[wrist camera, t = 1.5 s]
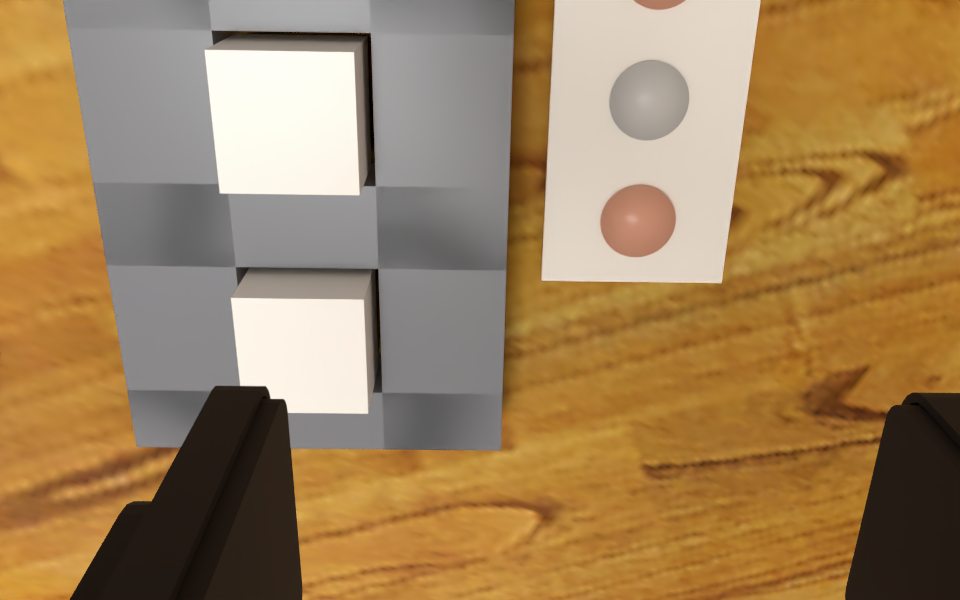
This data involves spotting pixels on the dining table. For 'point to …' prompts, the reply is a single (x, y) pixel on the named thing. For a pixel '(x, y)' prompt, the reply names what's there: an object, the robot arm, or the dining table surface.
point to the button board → (307, 210)
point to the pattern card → (644, 137)
